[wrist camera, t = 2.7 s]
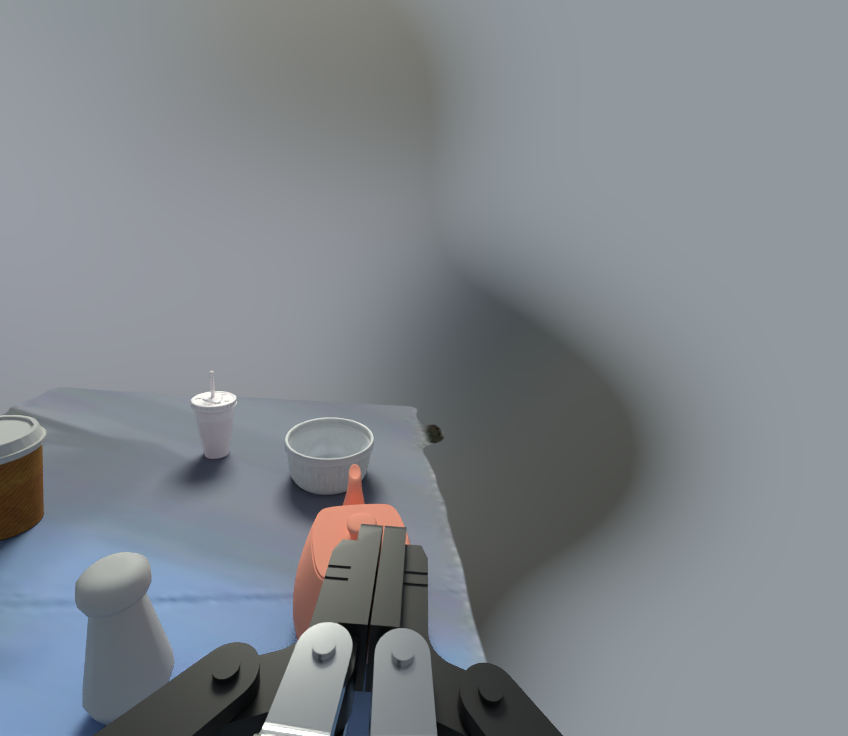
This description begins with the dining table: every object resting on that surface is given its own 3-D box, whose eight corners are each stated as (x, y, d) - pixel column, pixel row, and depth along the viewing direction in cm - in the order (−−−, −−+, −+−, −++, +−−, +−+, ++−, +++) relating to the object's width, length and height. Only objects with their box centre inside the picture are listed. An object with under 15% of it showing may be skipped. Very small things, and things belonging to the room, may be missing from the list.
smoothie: (230, 439, 70) (227, 363, 66) (244, 456, 66) (241, 375, 62) (189, 449, 66) (183, 369, 62) (201, 467, 62) (195, 382, 57)
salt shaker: (192, 683, 33) (179, 559, 29) (115, 758, 28) (88, 620, 24) (148, 648, 36) (131, 528, 32) (70, 711, 31) (38, 578, 27)
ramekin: (298, 511, 55) (299, 467, 53) (275, 462, 65) (274, 424, 63) (384, 488, 62) (388, 448, 60) (351, 447, 72) (353, 412, 70)
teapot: (434, 710, 34) (453, 599, 30) (284, 739, 31) (284, 620, 27) (395, 538, 52) (403, 457, 48) (299, 546, 49) (300, 460, 45)
